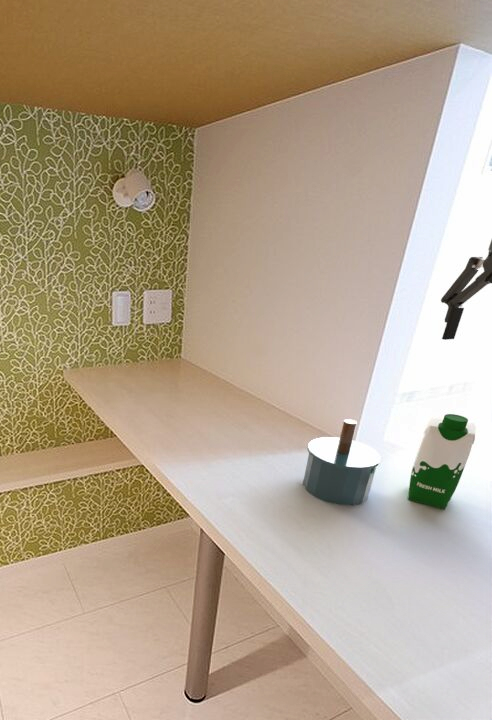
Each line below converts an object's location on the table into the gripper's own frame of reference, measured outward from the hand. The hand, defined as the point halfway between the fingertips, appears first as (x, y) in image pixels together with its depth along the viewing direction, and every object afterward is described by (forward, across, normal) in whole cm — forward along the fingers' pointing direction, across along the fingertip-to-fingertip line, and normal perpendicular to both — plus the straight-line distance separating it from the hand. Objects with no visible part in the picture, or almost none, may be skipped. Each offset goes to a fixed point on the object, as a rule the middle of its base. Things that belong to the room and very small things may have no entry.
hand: (479, 346), depth 88 cm
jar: (+33, +5, +24) cm, 41 cm away
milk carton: (+33, -4, +6) cm, 34 cm away
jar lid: (+23, +5, +24) cm, 34 cm away
